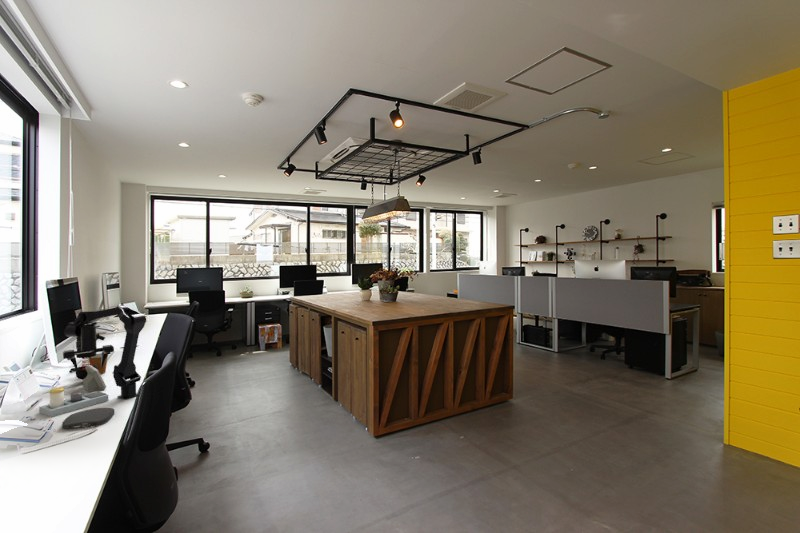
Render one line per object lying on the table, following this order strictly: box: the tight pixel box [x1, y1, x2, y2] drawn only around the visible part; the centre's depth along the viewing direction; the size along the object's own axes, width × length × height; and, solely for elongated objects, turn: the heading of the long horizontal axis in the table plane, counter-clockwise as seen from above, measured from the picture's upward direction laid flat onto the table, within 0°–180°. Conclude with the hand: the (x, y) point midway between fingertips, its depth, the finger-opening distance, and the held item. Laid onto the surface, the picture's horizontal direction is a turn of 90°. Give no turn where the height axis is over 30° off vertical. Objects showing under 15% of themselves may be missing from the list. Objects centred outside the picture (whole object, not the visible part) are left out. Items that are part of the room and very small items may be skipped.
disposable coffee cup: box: [88, 351, 109, 375], centre depth 217 cm, size 10×10×12 cm
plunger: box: [70, 391, 83, 402], centre depth 169 cm, size 4×4×3 cm
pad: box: [82, 390, 107, 399], centre depth 175 cm, size 7×6×1 cm
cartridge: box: [49, 387, 65, 409], centre depth 163 cm, size 5×5×10 cm
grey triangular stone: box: [82, 365, 107, 392], centre depth 193 cm, size 16×9×11 cm, turn 39°
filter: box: [74, 333, 106, 381], centre depth 203 cm, size 14×9×30 cm
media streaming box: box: [61, 407, 115, 431], centre depth 154 cm, size 15×15×3 cm
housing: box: [38, 391, 109, 418], centre depth 169 cm, size 10×21×2 cm, turn 154°
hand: (89, 369), depth 184 cm, fingers open, 9 cm apart
